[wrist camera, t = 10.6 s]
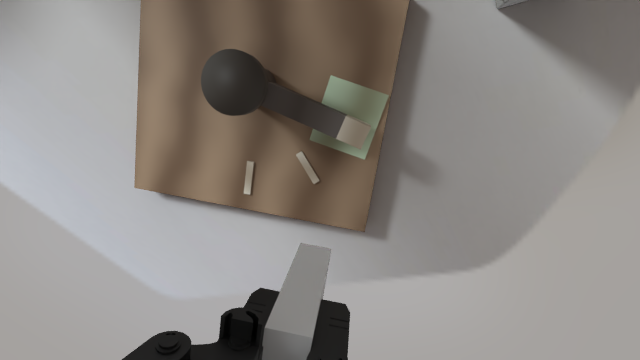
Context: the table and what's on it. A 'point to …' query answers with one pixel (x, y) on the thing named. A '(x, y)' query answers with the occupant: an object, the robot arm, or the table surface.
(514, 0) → the coffee box
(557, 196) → the table surface
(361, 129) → the peg
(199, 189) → the board
